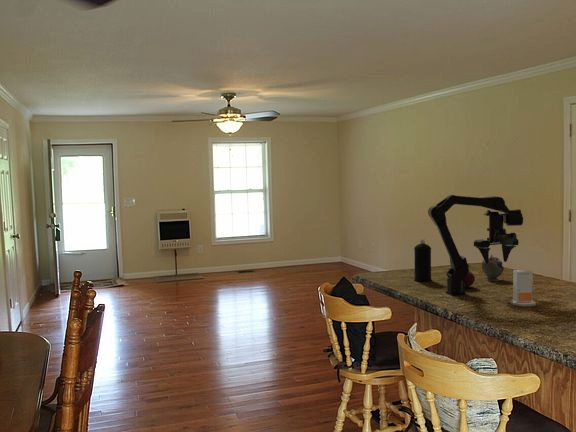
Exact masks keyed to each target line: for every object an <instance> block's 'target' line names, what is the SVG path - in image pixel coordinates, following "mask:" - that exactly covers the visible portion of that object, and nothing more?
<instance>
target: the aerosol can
mask: <svg viewBox="0 0 576 432" xmlns="http://www.w3.org/2000/svg"><path fill="white" fill-rule="evenodd" d="M419 242H420V243H419V244H416V245H415V247H414V248H413V249H414V250H413V251H414V281H415V282H417V283H418V282H419V283H429V282H432V281H433V280H432V247H431V246H430V245H429V244H426V240H425V239H423V238H422V239H421V238H420V241H419Z"/></svg>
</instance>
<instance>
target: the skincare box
mask: <svg viewBox="0 0 576 432" xmlns="http://www.w3.org/2000/svg"><path fill="white" fill-rule="evenodd" d="M512 273H513V279H512V281H513V283H512V285H513V286H512V287H513V288H512V300H514V301H516V302H532V300H533V281H534V280H533V279H534V278H533V276H534V275H533V273H534V272H533V271H532V270H531V269H513V272H512Z"/></svg>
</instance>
